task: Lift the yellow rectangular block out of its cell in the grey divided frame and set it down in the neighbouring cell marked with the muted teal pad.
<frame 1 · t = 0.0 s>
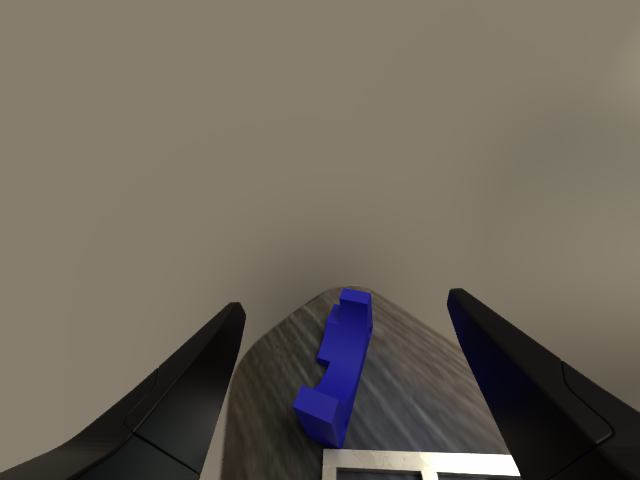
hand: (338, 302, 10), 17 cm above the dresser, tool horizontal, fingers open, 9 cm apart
cable clip: (339, 372, 24), on the dresser
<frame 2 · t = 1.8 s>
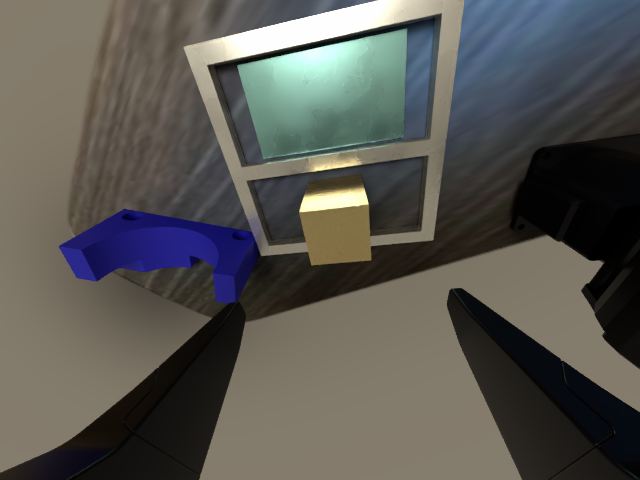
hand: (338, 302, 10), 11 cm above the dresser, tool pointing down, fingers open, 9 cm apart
grey divided frame: (331, 157, 17), on the dresser
yellow rectangular block: (337, 201, 19), resting in grey divided frame
cable clip: (197, 239, 22), on the dresser
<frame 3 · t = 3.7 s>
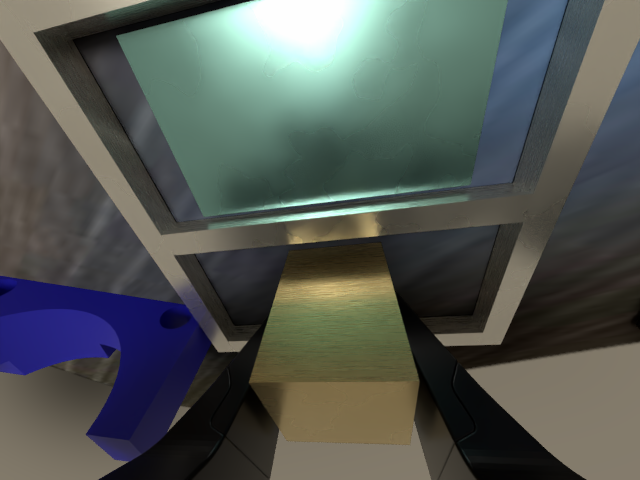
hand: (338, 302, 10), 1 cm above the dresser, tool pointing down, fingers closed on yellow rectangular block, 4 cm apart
grey divided frame: (328, 216, 9), on the dresser
yellow rectangular block: (338, 280, 11), resting in grey divided frame, touching gripper
cable clip: (118, 311, 14), on the dresser
when the fingers open (3 cm above the dresser, at t = 7.7 s): yellow rectangular block drops 2 cm, resting on grey divided frame.
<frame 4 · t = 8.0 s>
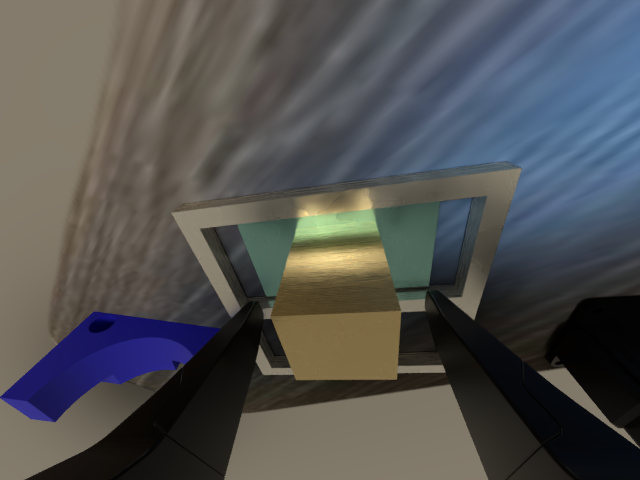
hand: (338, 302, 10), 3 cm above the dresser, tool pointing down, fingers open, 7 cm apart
grey divided frame: (344, 297, 15), on the dresser
yellow rectangular block: (339, 256, 13), resting on grey divided frame
cable clip: (181, 335, 19), on the dresser
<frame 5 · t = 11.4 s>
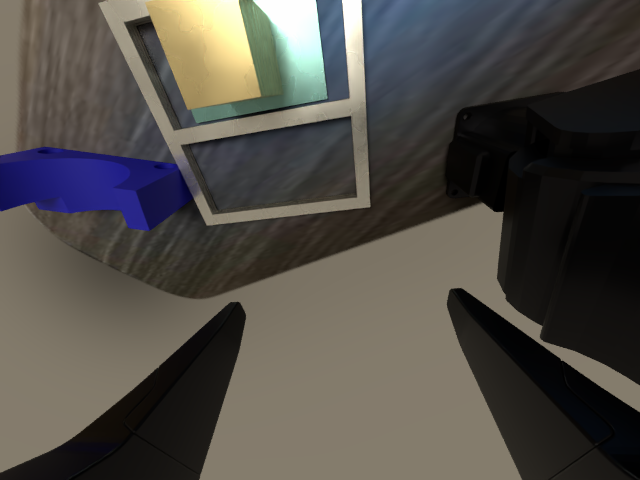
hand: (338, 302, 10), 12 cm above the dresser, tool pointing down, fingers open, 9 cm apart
grey divided frame: (262, 121, 17), on the dresser
yellow rectangular block: (247, 63, 15), resting on grey divided frame
cable clip: (128, 180, 21), on the dresser
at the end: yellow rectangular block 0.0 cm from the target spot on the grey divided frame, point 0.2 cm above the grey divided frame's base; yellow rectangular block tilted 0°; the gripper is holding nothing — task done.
